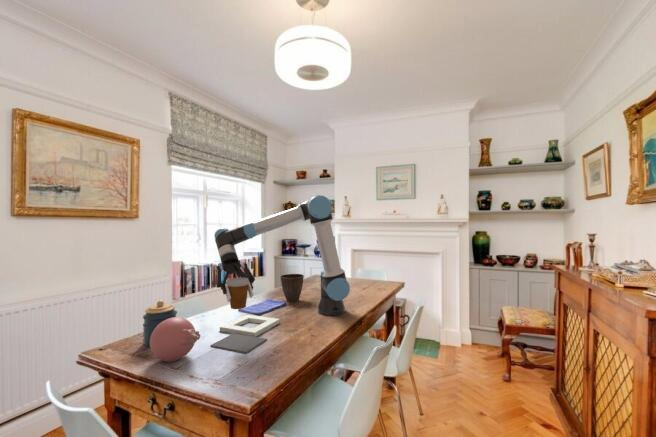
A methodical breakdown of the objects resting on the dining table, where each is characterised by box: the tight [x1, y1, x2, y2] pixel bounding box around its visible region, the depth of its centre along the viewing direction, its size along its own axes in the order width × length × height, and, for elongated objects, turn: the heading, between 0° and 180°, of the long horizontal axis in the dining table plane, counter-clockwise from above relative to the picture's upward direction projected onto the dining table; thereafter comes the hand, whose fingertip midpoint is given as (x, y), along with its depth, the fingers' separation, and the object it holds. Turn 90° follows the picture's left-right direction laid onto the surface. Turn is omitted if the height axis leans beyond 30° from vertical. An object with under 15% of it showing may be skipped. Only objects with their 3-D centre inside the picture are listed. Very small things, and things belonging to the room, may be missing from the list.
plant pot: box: [279, 273, 305, 303], centre depth 195 cm, size 15×15×16 cm
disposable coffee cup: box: [225, 276, 249, 310], centre depth 132 cm, size 10×10×12 cm
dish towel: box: [237, 299, 287, 316], centre depth 180 cm, size 17×24×3 cm
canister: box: [142, 300, 178, 348], centre depth 132 cm, size 13×13×18 cm
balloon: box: [149, 316, 201, 362], centre depth 114 cm, size 15×20×15 cm
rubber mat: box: [210, 333, 268, 354], centre depth 129 cm, size 18×14×1 cm
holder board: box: [219, 314, 280, 337], centre depth 148 cm, size 20×20×2 cm
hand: (240, 298), depth 130 cm, fingers closed on disposable coffee cup, 9 cm apart
